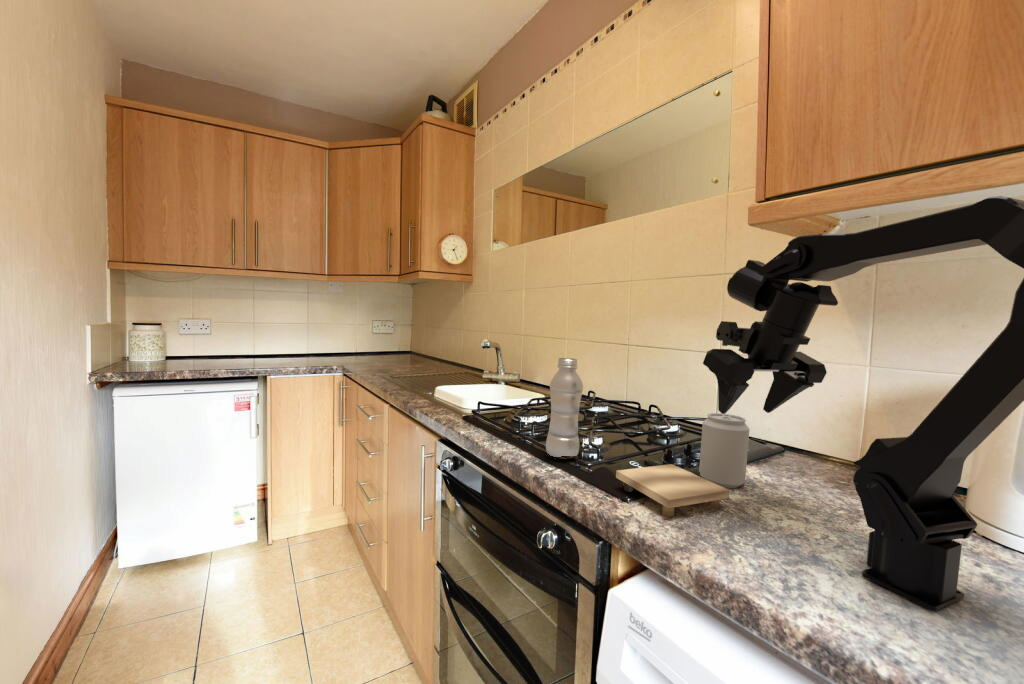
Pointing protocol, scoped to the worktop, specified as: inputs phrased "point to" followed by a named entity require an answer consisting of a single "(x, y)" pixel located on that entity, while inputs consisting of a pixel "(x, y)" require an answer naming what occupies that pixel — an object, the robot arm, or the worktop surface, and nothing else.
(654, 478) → the small wooden stand
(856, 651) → the worktop surface
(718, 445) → the can
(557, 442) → the plastic bottle
